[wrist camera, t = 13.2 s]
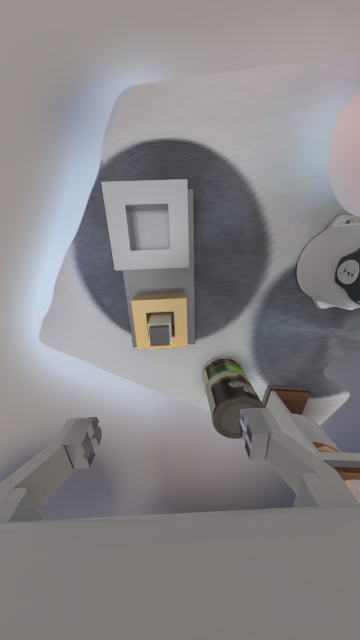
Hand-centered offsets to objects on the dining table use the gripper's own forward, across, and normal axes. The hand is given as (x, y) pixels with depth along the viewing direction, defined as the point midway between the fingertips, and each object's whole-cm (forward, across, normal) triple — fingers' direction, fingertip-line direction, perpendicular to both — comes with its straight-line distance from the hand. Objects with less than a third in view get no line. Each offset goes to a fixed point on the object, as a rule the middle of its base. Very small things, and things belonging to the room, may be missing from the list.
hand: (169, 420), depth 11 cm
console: (+32, +3, -3) cm, 33 cm away
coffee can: (+32, -11, +22) cm, 41 cm away
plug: (+30, +3, +5) cm, 31 cm away
